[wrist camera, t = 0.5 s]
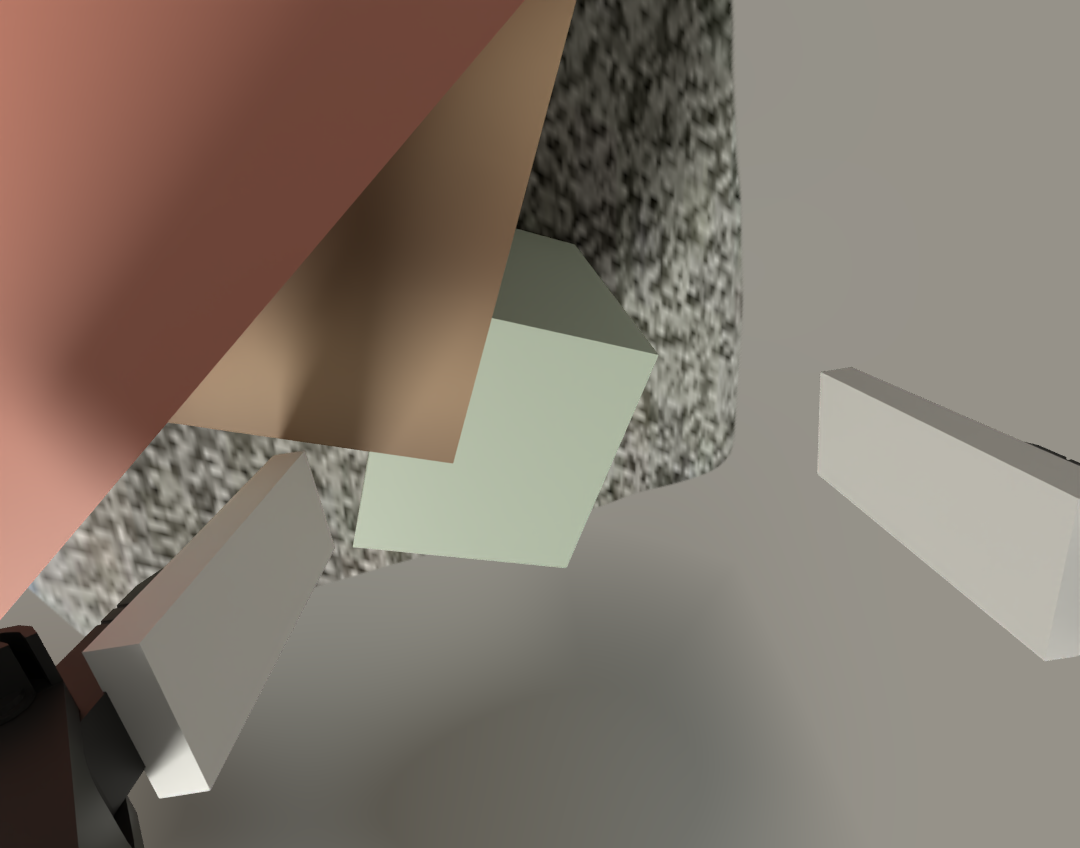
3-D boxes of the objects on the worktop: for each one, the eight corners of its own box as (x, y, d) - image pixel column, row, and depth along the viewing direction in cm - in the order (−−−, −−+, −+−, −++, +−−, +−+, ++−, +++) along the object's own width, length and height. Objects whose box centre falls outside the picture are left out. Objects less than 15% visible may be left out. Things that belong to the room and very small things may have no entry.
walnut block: (221, -96, 30) (-853, -873, 5) (481, 3, 34) (617, -152, 9) (218, 148, 36) (-287, 356, 11) (440, 208, 40) (453, 463, 15)
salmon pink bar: (-35, 652, 15) (-164, 814, 12) (-262, 580, 13) (-497, 756, 10) (557, -54, 9) (625, -115, 6) (319, -400, 7) (221, -793, 4)
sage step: (411, 200, 39) (396, 296, 23) (574, 244, 42) (658, 354, 27) (380, 378, 46) (353, 546, 30) (523, 404, 49) (566, 568, 33)
